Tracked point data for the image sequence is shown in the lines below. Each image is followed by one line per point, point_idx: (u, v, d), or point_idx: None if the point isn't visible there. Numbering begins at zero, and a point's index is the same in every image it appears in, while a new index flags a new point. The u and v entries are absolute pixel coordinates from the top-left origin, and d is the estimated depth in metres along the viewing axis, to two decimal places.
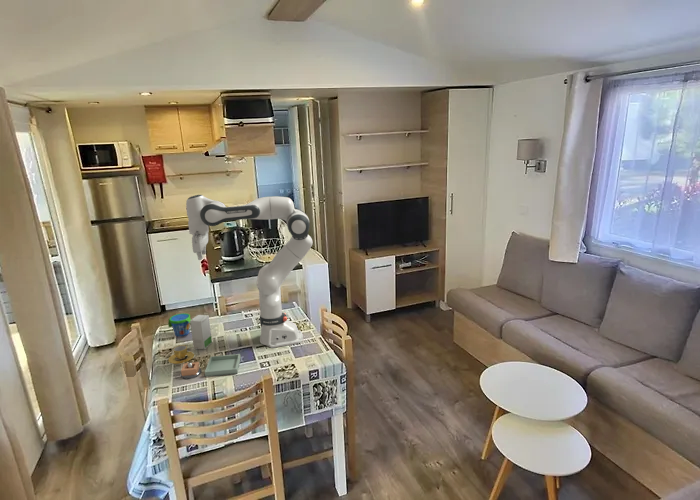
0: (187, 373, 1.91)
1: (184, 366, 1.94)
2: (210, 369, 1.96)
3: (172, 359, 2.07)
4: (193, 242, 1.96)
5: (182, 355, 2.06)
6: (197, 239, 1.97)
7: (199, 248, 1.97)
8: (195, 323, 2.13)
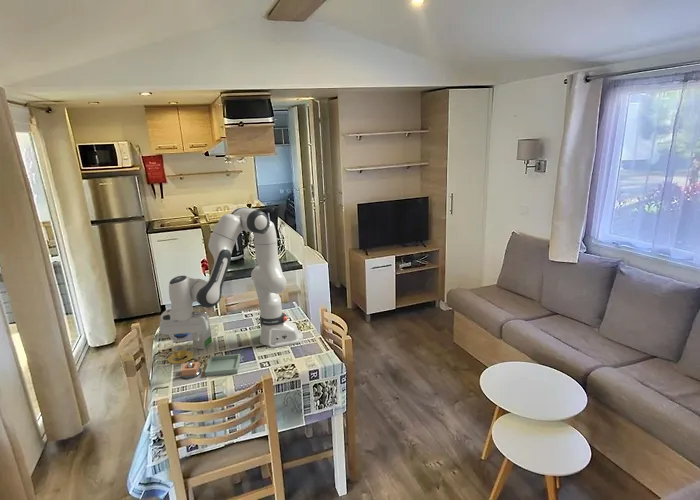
0: (187, 373, 1.91)
1: (184, 366, 1.94)
2: (210, 369, 1.96)
3: (171, 359, 2.07)
4: (205, 321, 1.88)
5: (181, 355, 2.06)
6: None
7: None
8: None
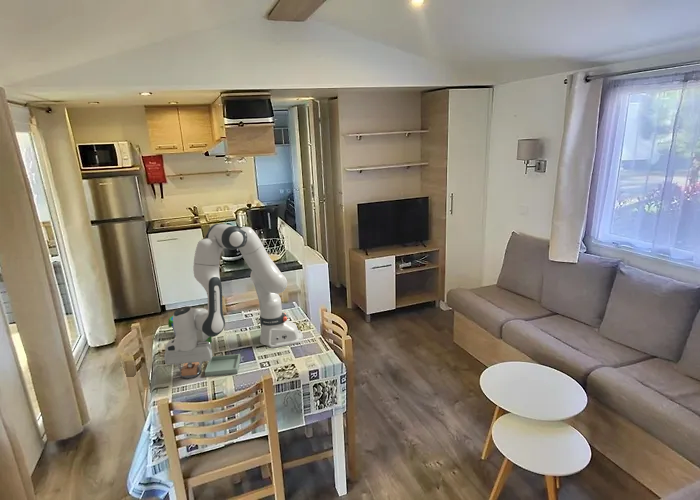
0: (187, 373, 1.91)
1: (184, 366, 1.94)
2: (210, 369, 1.96)
3: None
4: (209, 350, 1.92)
5: None
6: None
7: (211, 353, 1.95)
8: None
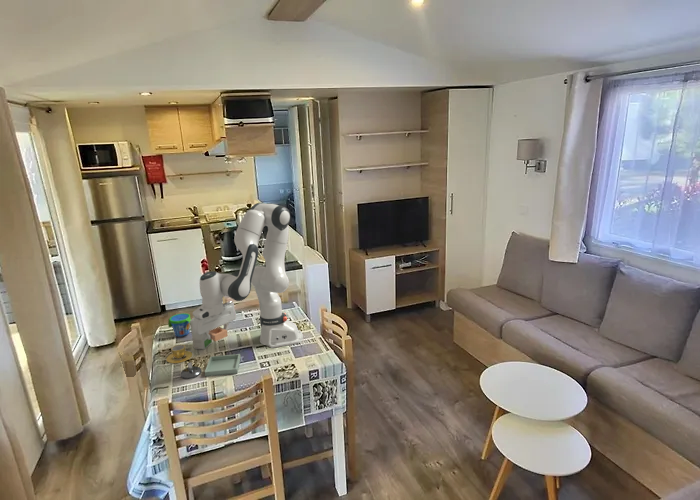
0: (220, 337, 1.93)
1: (211, 333, 1.93)
2: (210, 369, 1.96)
3: (170, 359, 2.08)
4: None
5: (180, 354, 2.07)
6: None
7: None
8: None
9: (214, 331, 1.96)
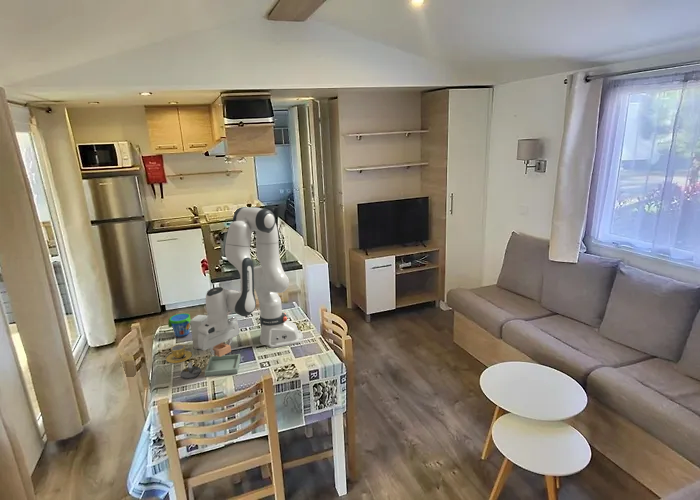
0: (224, 352, 1.94)
1: (215, 348, 1.94)
2: (210, 369, 1.96)
3: (170, 358, 2.08)
4: None
5: (180, 354, 2.07)
6: None
7: None
8: (196, 323, 2.13)
9: (217, 346, 1.97)
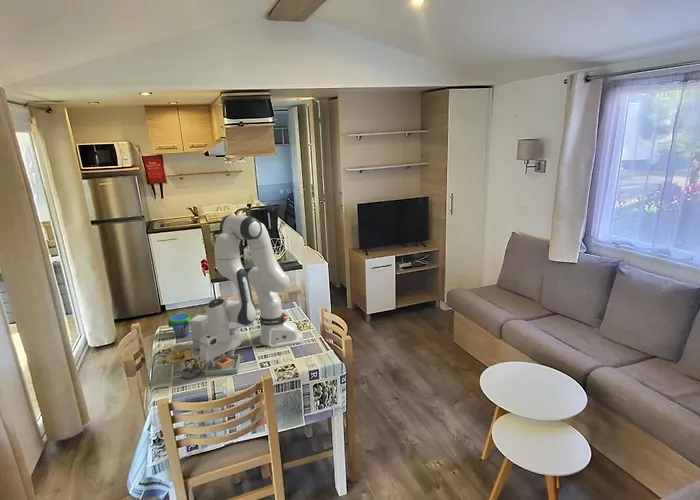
0: (226, 366, 1.96)
1: (218, 362, 1.97)
2: (210, 369, 1.96)
3: (170, 359, 2.07)
4: None
5: (180, 354, 2.07)
6: None
7: None
8: (196, 323, 2.13)
9: (220, 360, 1.99)
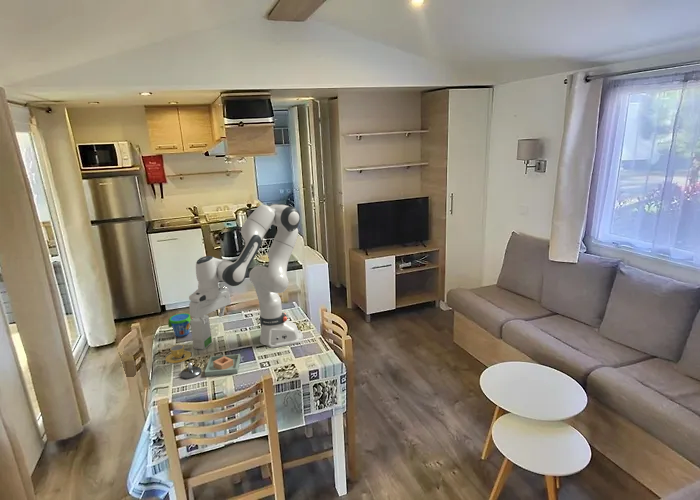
0: (226, 366, 1.96)
1: (218, 362, 1.97)
2: (210, 369, 1.96)
3: (169, 359, 2.07)
4: None
5: (180, 354, 2.07)
6: None
7: None
8: (196, 323, 2.13)
9: (220, 360, 1.99)
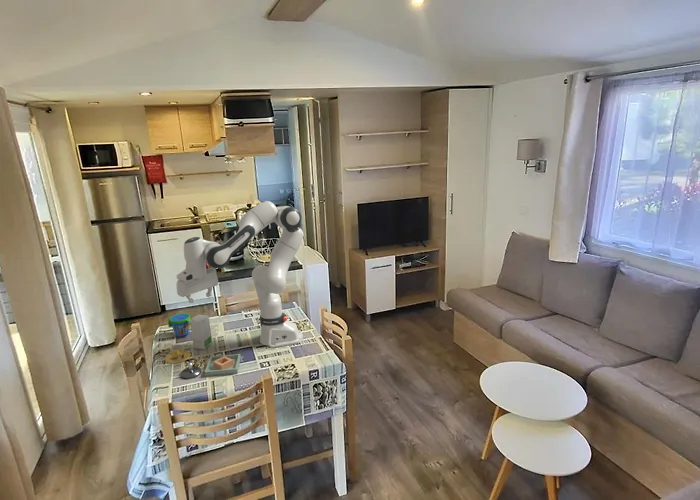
0: (226, 366, 1.96)
1: (218, 362, 1.97)
2: (210, 369, 1.96)
3: (169, 359, 2.07)
4: None
5: (180, 354, 2.07)
6: None
7: None
8: (195, 323, 2.13)
9: (220, 360, 1.99)
